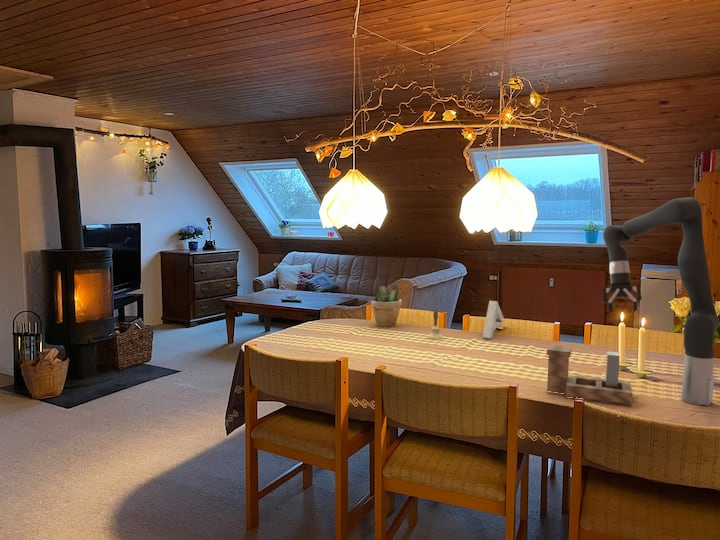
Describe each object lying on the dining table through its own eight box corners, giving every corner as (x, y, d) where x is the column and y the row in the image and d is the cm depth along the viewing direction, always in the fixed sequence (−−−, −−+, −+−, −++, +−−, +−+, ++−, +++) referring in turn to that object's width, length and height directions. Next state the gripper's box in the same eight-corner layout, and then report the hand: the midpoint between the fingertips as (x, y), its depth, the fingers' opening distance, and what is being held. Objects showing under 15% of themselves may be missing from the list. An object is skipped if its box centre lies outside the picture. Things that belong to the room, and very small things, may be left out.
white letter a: (500, 358, 321) (490, 338, 297) (492, 357, 323) (482, 337, 299) (506, 323, 330) (497, 301, 306) (498, 323, 332) (489, 300, 308)
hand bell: (445, 339, 299) (445, 309, 298) (430, 339, 298) (431, 310, 296) (439, 335, 307) (440, 307, 306) (425, 336, 306) (426, 307, 304)
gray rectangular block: (616, 394, 209) (619, 352, 207) (617, 398, 204) (619, 355, 202) (605, 392, 210) (607, 351, 208) (605, 396, 206) (607, 354, 204)
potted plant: (388, 330, 320) (388, 287, 318) (364, 325, 333) (364, 284, 330) (407, 325, 334) (407, 284, 331) (383, 320, 346) (383, 281, 344)
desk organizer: (629, 394, 211) (632, 351, 209) (631, 406, 198) (634, 360, 196) (547, 384, 223) (549, 343, 221) (544, 395, 210) (546, 351, 208)
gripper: (601, 273, 229) (604, 312, 227) (639, 270, 224) (643, 310, 222) (601, 274, 236) (604, 313, 234) (638, 272, 231) (641, 311, 228)
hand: (623, 311), depth 228 cm, fingers open, 8 cm apart
